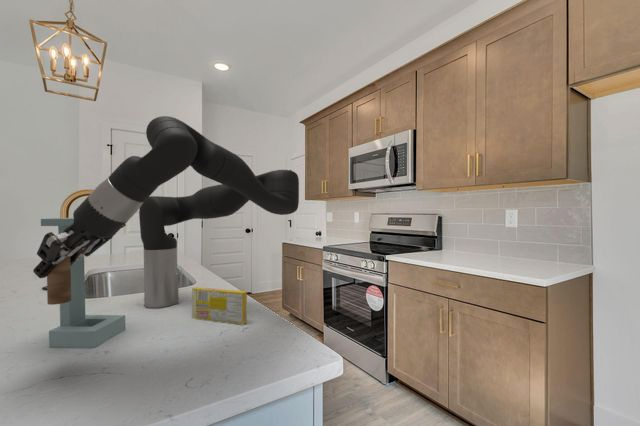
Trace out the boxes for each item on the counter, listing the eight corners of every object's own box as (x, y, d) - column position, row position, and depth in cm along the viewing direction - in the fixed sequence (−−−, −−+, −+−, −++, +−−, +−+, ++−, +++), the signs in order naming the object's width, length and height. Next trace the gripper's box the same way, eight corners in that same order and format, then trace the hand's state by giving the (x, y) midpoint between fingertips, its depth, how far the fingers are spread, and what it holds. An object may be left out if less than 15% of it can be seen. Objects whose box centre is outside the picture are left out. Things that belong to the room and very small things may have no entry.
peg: (72, 298, 61) (71, 236, 60) (69, 302, 58) (68, 237, 57) (49, 300, 59) (48, 237, 59) (45, 305, 56) (43, 238, 56)
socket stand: (126, 328, 77) (124, 217, 77) (92, 348, 66) (90, 218, 66) (84, 328, 78) (82, 217, 77) (43, 348, 67) (40, 218, 66)
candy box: (247, 322, 81) (247, 290, 81) (243, 325, 79) (242, 293, 79) (196, 316, 86) (196, 286, 86) (191, 318, 84) (190, 288, 84)
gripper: (96, 222, 50) (24, 297, 51) (148, 219, 64) (91, 278, 65) (63, 190, 50) (-7, 265, 51) (122, 193, 65) (66, 252, 65)
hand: (48, 272), depth 58 cm, fingers closed on peg, 3 cm apart
